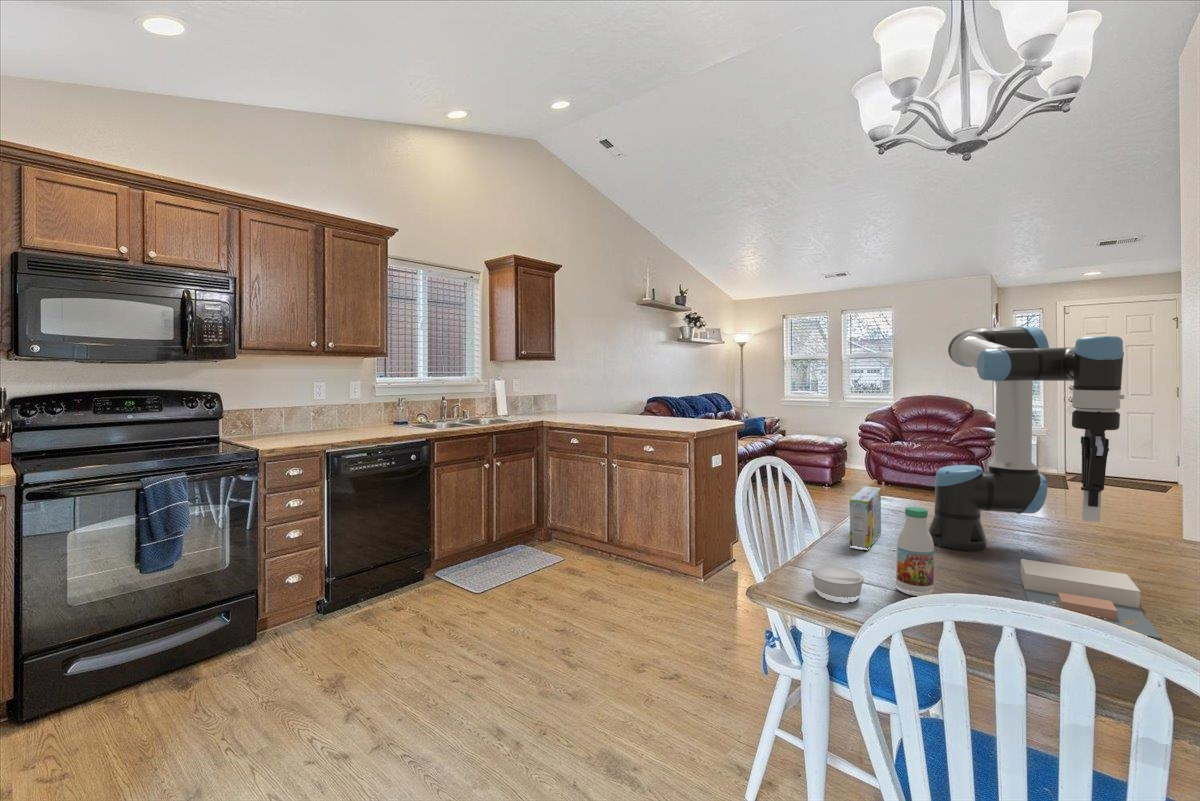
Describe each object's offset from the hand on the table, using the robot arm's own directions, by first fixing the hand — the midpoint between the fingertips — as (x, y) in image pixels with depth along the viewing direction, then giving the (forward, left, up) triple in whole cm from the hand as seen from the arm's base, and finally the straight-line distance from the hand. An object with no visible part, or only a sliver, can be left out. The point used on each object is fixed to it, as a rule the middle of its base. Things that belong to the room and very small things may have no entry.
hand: (1090, 520), depth 118 cm
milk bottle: (-32, -6, -21) cm, 38 cm away
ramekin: (-47, -18, -21) cm, 54 cm away
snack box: (-47, +30, -21) cm, 60 cm away
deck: (0, +15, -20) cm, 25 cm away
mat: (0, +1, -20) cm, 20 cm away
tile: (0, +1, -18) cm, 18 cm away
